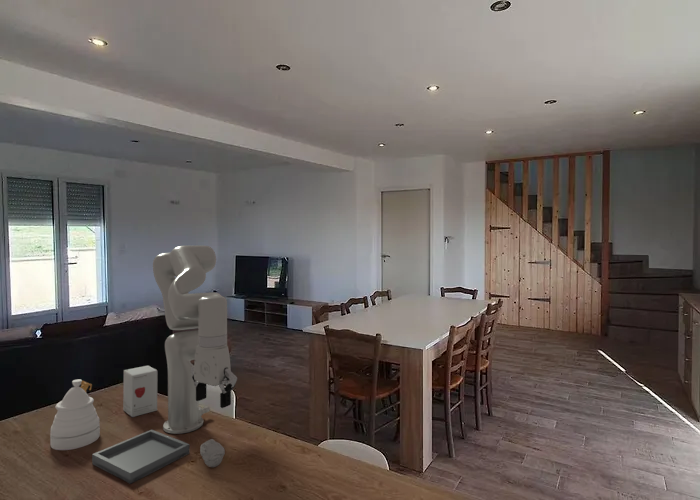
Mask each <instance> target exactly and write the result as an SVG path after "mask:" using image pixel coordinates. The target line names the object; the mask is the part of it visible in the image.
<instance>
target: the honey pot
mask: <svg viewBox="0 0 700 500" xmlns="http://www.w3.org/2000/svg"><path fill="white" fill-rule="evenodd" d="M82 381H83V380H82V379H81V378H80V379H78V378H77V379H73V380H72V381H71V384H72V387H71V388H69V390H68V391H67V392H66V393H65V395H64V397H63V398H62V400H60V401H59V402H58V403H56V405H55V409H56V411H57V412H56V414H55V415H54V419H53V421H52V425H51V426H50V434H49V435H50V448H51V449H53V450H56V451H68V450H69V451H70V450H75V449H79V448H83V447H85V446H89V445H91V444H93V443H94V442H96V441H97V440H98V439H99V437H100V436H101V435H100V434H101V433H100V431H101V428H100V423H101V422H100V421H101V420H100V417H99V416H98V413H97V411H96V410H97V409H96V408H95V405H94V404H93V403H94V401H95V399H94V398H93V397H91V396H89V395H88V393H87V391H86V392H85V391H84V390H83V389H82V388H80V387H81V385H82V384H81V382H82Z"/></svg>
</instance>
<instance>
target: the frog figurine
mask: <svg viewBox="0 0 700 500" xmlns="http://www.w3.org/2000/svg"><path fill="white" fill-rule="evenodd" d="M199 448H200V449H199V452H200V456H201V458H202V460H203V463H205V465H206V466H207V467H208V468H217V467H218V466H219V465H221V463H222V461H223V458H224V456H225V453H226V452H225V451H226V450H225V448H224V446H223V445H222V444H221V443H220V442H218V441H216V440H214V439H213V438H210V439H208V440H206V441H205V442H203V443H202V444H201V445H200V447H199Z"/></svg>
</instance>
